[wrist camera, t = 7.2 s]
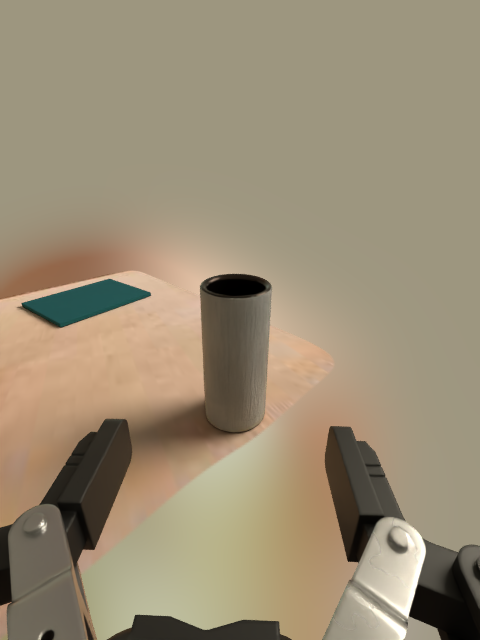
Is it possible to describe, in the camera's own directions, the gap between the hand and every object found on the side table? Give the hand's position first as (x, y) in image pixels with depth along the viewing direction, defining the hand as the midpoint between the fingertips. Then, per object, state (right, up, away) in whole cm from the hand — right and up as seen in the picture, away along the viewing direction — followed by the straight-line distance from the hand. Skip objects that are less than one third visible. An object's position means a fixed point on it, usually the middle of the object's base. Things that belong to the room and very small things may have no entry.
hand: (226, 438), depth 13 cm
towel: (-20, +7, +32) cm, 39 cm away
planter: (0, -3, +12) cm, 13 cm away
